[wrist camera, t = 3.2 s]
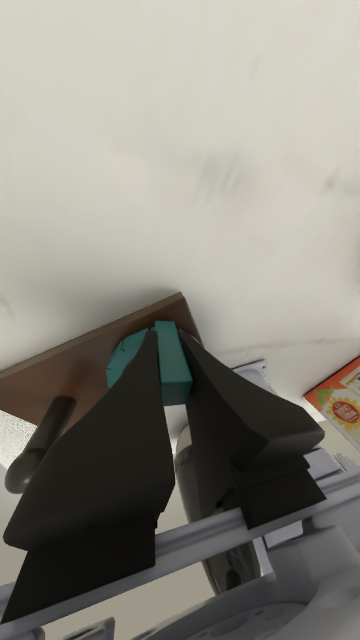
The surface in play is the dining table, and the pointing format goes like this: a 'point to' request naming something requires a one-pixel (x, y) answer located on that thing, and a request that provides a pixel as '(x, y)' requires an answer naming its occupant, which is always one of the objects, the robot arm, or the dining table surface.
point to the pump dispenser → (219, 568)
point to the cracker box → (341, 401)
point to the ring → (169, 362)
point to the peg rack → (72, 381)
